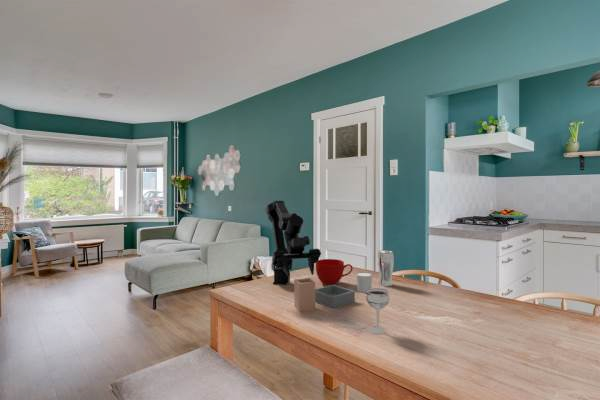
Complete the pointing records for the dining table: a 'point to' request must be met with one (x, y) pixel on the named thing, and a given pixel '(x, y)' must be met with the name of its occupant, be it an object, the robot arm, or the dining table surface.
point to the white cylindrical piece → (364, 281)
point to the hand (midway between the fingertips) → (301, 275)
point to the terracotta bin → (304, 294)
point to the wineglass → (377, 304)
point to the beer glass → (385, 267)
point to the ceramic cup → (330, 271)
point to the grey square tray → (334, 296)
